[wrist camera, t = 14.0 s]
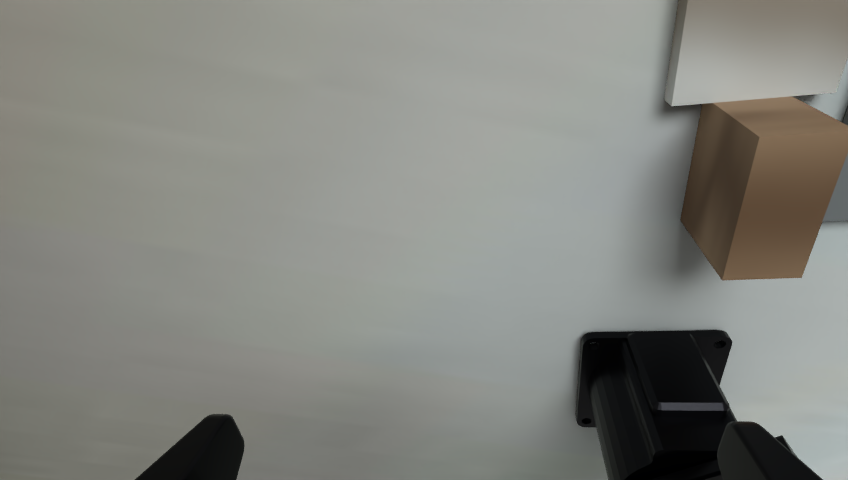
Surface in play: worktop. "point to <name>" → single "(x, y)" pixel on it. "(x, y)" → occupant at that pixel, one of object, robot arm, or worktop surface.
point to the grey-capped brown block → (759, 128)
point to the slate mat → (839, 193)
